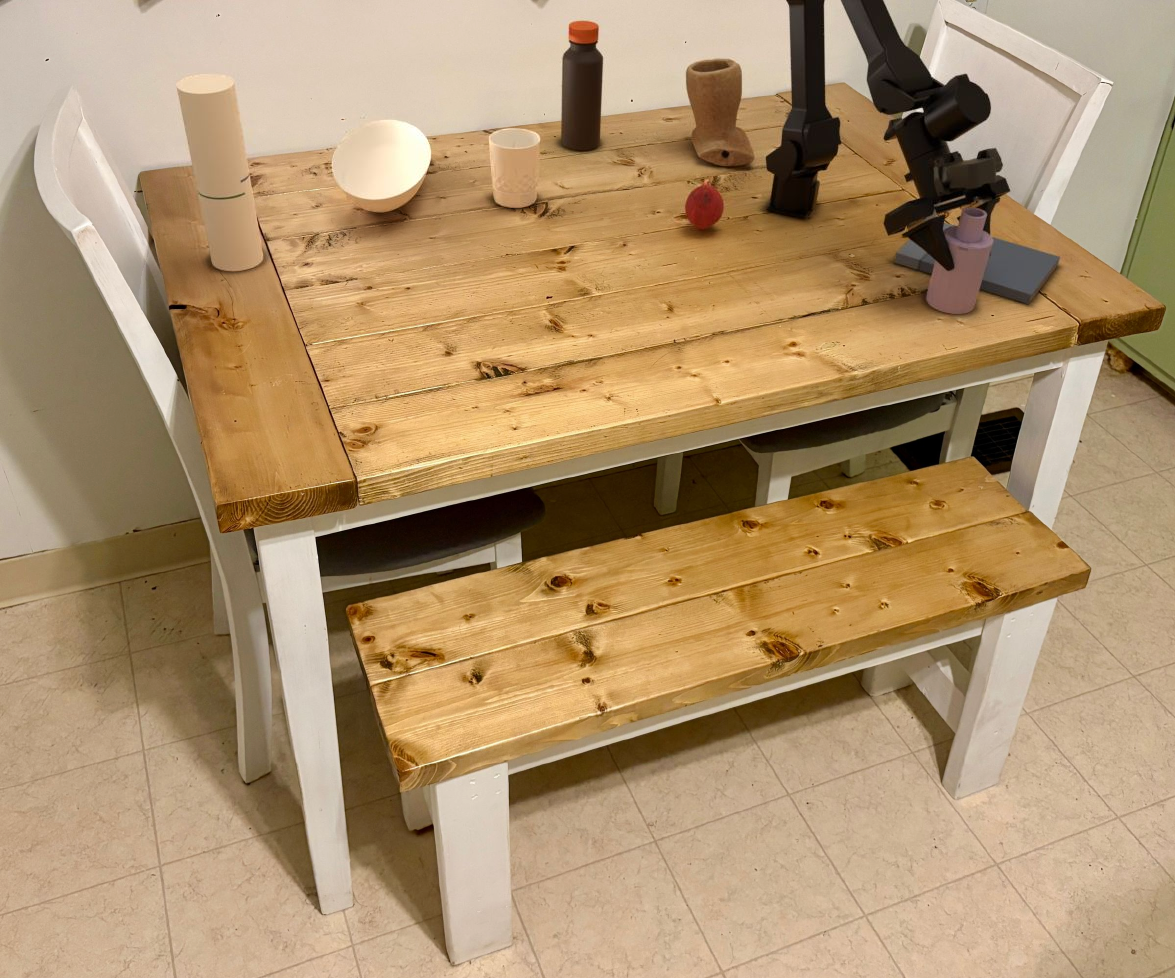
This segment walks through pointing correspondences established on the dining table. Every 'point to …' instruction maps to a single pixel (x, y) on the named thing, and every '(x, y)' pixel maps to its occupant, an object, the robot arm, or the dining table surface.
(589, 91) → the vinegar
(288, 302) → the dining table surface
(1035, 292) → the grey stepped slab
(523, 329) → the dining table surface
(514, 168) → the white cup
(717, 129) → the clay boot vessel
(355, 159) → the bowl
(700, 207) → the onion
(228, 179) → the cylindrical container
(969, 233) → the vase
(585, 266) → the dining table surface
